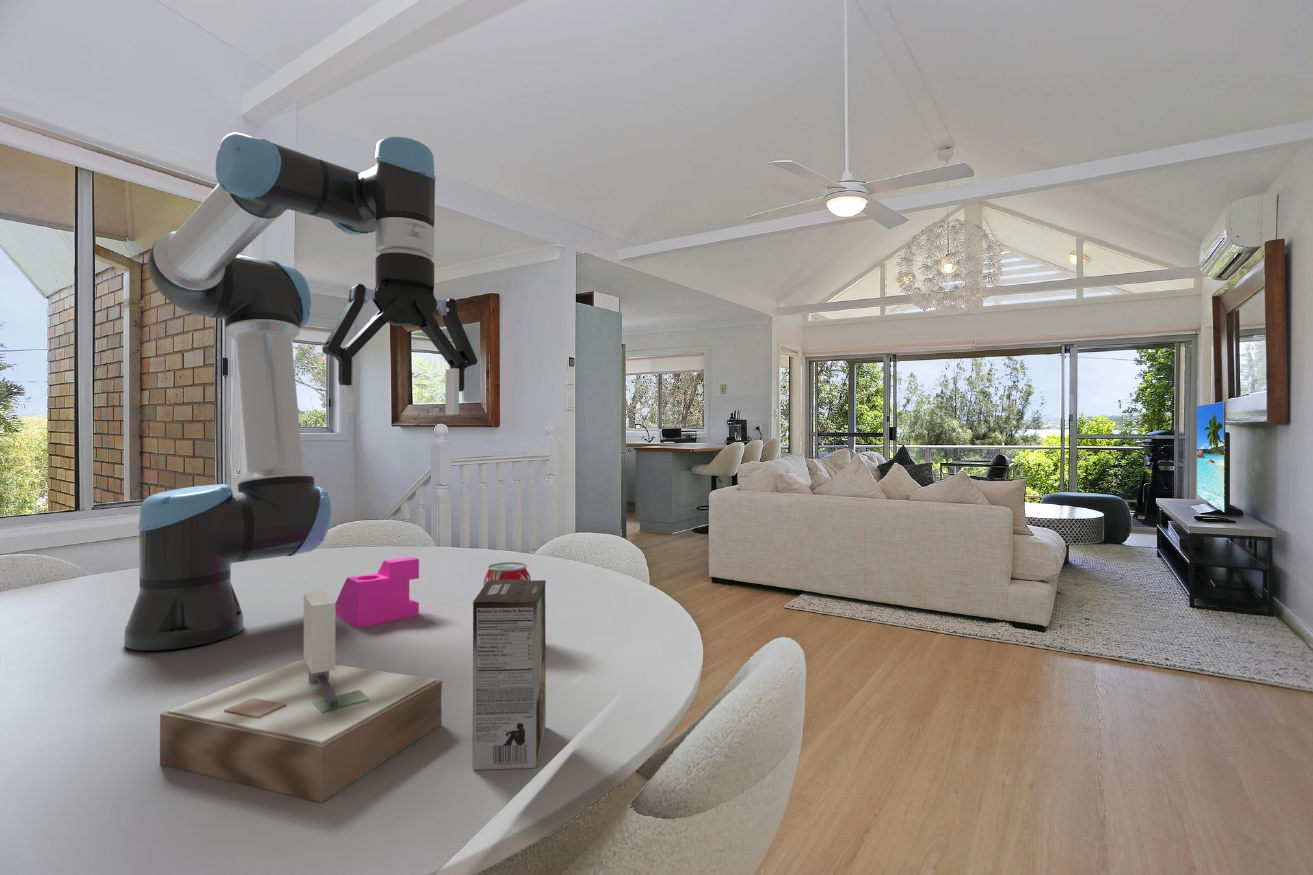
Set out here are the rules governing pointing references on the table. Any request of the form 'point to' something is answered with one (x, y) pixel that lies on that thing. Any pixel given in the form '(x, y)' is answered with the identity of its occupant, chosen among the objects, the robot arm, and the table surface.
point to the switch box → (300, 728)
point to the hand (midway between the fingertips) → (405, 413)
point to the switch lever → (320, 641)
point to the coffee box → (509, 674)
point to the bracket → (379, 594)
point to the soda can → (507, 572)
